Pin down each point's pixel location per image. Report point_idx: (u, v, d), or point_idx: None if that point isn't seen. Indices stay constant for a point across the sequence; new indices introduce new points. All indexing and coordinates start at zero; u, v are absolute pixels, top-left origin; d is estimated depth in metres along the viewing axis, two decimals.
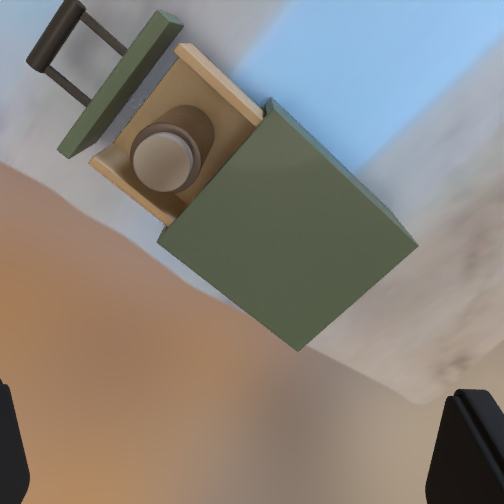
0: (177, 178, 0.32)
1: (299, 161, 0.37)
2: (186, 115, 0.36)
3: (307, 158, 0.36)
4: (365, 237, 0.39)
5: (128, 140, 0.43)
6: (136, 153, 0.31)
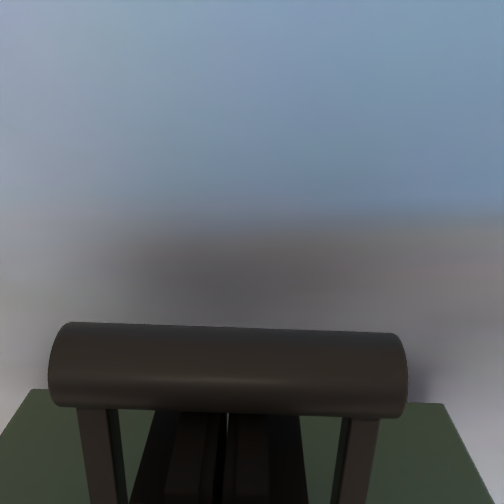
0: None
1: None
2: None
3: None
4: None
5: None
6: None
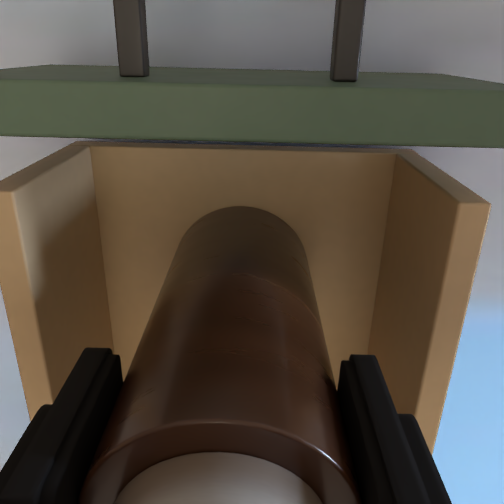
0: None
1: None
2: (323, 334, 0.12)
3: None
4: None
5: (127, 173, 0.16)
6: None
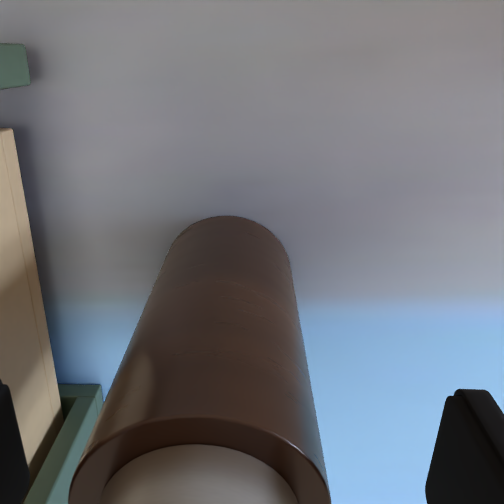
0: None
1: None
2: (301, 337, 0.13)
3: None
4: None
5: None
6: None
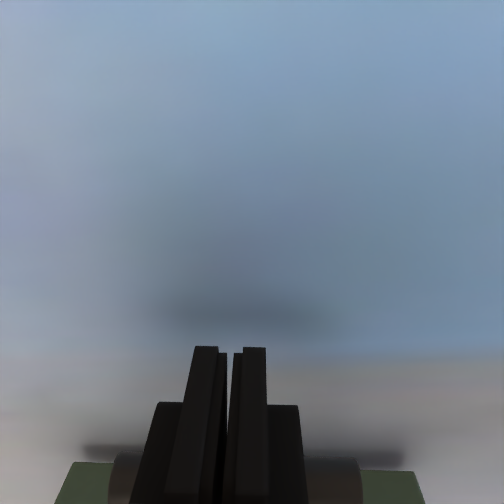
0: None
1: None
2: None
3: None
4: None
5: None
6: None
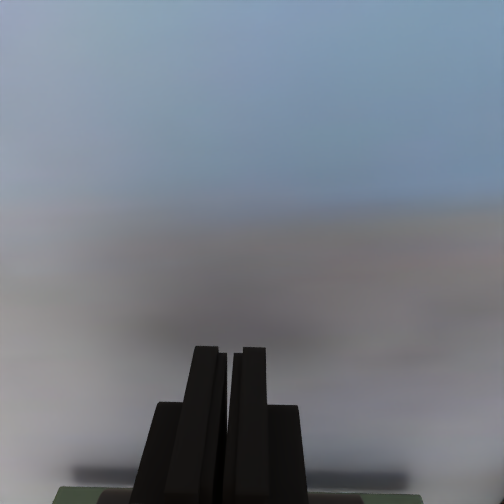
0: None
1: None
2: None
3: None
4: None
5: None
6: None
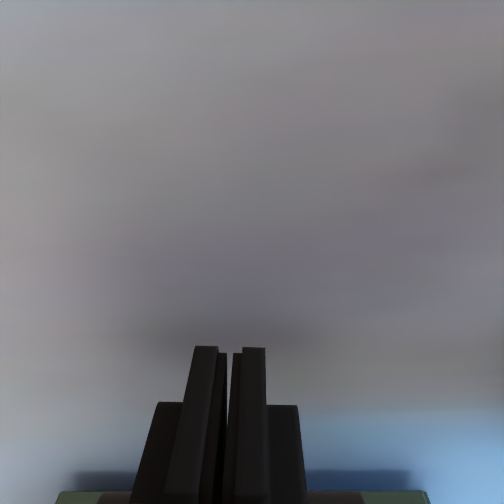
0: None
1: None
2: None
3: None
4: None
5: None
6: None
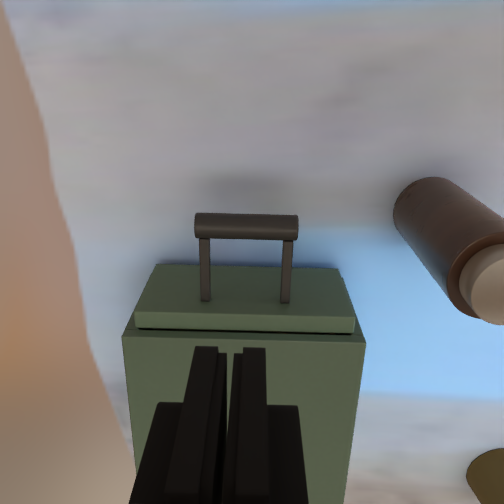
0: (502, 316, 0.23)
1: (333, 397, 0.29)
2: None
3: (342, 401, 0.30)
4: (309, 492, 0.33)
5: None
6: None
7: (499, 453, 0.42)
